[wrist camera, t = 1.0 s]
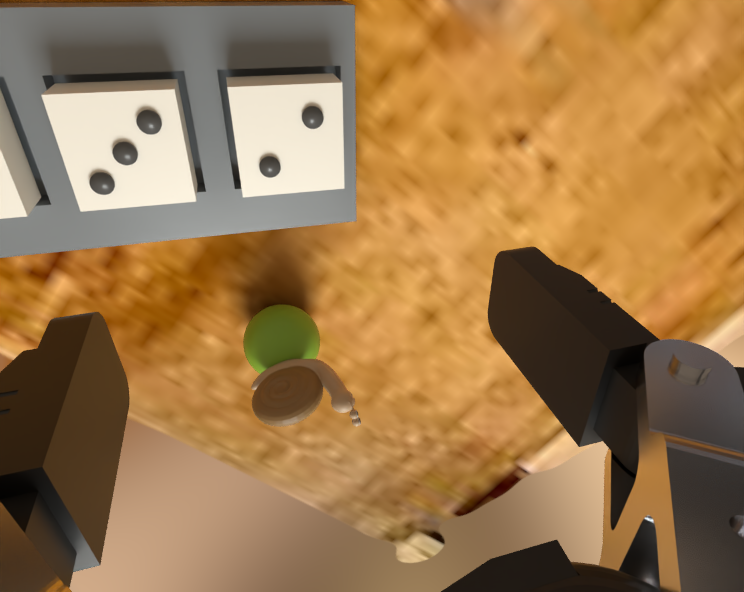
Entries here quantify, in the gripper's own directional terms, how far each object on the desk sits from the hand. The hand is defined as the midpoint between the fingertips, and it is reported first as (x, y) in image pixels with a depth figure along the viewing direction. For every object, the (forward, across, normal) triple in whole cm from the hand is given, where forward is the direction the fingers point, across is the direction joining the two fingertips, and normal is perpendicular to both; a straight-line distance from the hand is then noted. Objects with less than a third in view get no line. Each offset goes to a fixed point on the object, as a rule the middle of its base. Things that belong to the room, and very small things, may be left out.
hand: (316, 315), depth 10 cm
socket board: (+23, +6, +1) cm, 24 cm away
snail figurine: (+24, 0, +16) cm, 29 cm away
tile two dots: (+20, -2, +2) cm, 21 cm away
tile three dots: (+20, +6, +1) cm, 21 cm away
